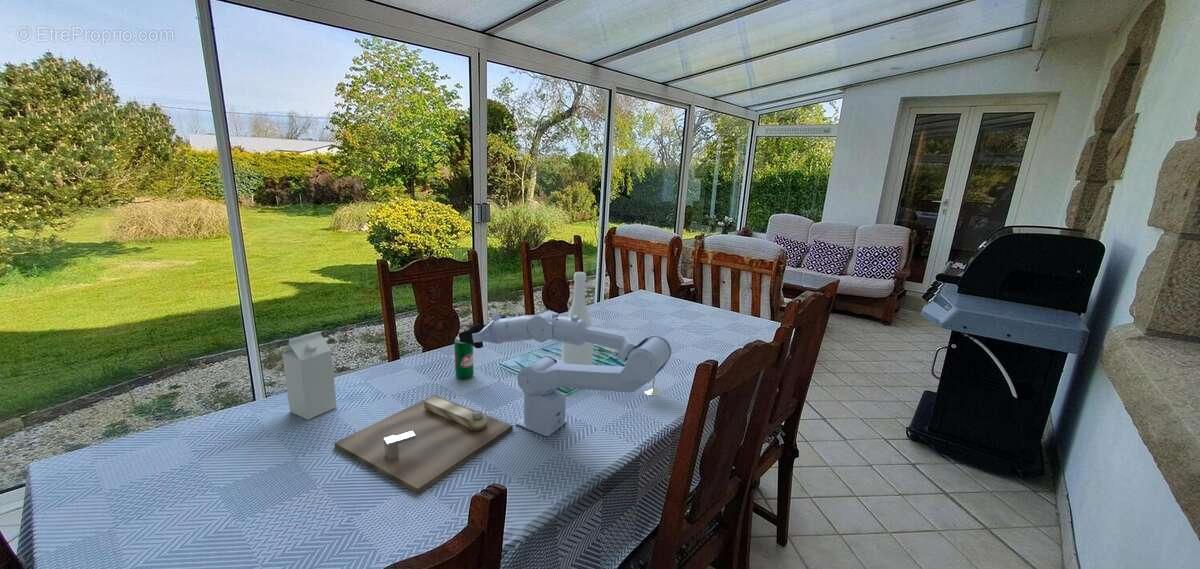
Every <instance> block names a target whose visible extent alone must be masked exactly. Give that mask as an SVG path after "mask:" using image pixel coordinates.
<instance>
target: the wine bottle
mask: <svg viewBox="0 0 1200 569" xmlns="http://www.w3.org/2000/svg"><path fill="white" fill-rule="evenodd" d="M573 281H574V284H573V300H572V303H571V306H570V309H569V311H568V315H567V317H572V316H574V315H576V316H579V319H583V320H586V321H587V323H588V324H589V326H591V327H593V323H592V321H591V320H592V319H591V318H590V314H589V310H588V307H587V303H586V281H587V274H586V272H584V271H576V272H574V273H573ZM593 354H594V344H593V343H589V342H585V343H584V344H583V345H581V346H578V345H573V344H569V343H564V342H561V360H564V362H565V364H582V365H593V361H594V358H593V357H594V355H593Z"/></svg>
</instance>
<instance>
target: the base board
mask: <svg viewBox="0 0 1200 569" xmlns="http://www.w3.org/2000/svg"><path fill="white" fill-rule="evenodd" d="M434 396H435V397H437V398H440V399H443V400H445V401H448V402H450V403H453V404H455V405H458V406H460V407H463V408H465V409H468V410H470V411H473V412H475V411H476V410H475V409H472V408H469V407H467V406H465V405H462V404H459V403H457V402H455V401H452V400H449V399H447V398H444V397H441V396H439V395H436V394H434V395H431V396H430V397H427V398H425V399H423V400H421V401H418V402H416V403H415V404H413V405H410V406H408V407H406V408H404V409H402V410H400V411H398V412H396V413H393V414H391V415H390V416H387V417H386V418H383V419H381V420H379V421H377V422H375V423H373V424H371V425H369V426H366V427H364V428H362V429H360V430H359V431H356V432H354V433H352V434H350V435H348V436H346V437H343V438H341V439H339V440H337V441H335V442H334V449H336V450H338V451H340V452H342V453H343V454H345V455H347V456H349V457H351V458H353V459H354V460H356V461H357V462H360V463H361V464H363V465H364V466H366V467H369V468H371V469H372V470H374V471H376V472H377V473H379V474H381V475H383V476H384V477H386V478H388V479H389V480H392V481H394V482H395V483H397V484H399V485H400V486H402V487H404V488H406V489H408V490H410V491H411V492H413V493H415V494H417V495H420V494H422V493H423V492H424V491H425V490H427V489H429V488H431V487H432V486H433V485H434V484H436V483H438V482H439V481H440V480H442V479H443V478H445V477H447V476H448V475H449V474H451V473H452V472H453V471H455V470H456V469H458V468H459V467H461V466H462V465H464V464H465V463H467V462H469V461H470V460H471V459H472V458H474V457H475V456H477V455H478V454H480V453H481V452H483V451H484V450H485V449H486V450H487V448H489V447H491V445H494V444H495V443H496V442H497V441H499V440H501V439H502V438H503V437H505V436H507V434H509V433H511V432H512V431H513V430H514V428H513V427H514V426H513V424H510V423H507V422H505V421H502V420H499V419H497V418H495V417H492V416H489V415H487V414H485V413H483V414H484V415H486V417H487V426H486V428H485V429H483V430H480V431H473V430H470V429H469V427H467V426H465V425H462V424H460V423H457V422H455V421H453V420H450V419H448V418H446V417H443V416H441V415H438V414H436V413H434V412H431V411H429V410H427V409H424V401H425V400H427V399H429V398H431V397H434ZM410 431H413V432H414V434H415V435H416V439H413V440H410V441H407V442H404V443H401V444H398V450H399V457H398V458H395V459H392V460H389V461H388V459H387V458H386V456H385V449H384V438H386V437H389V436H392V435H395V436H397V435H400V434H404V433H407V432H410Z"/></svg>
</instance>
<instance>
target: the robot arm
mask: <svg viewBox="0 0 1200 569" xmlns="http://www.w3.org/2000/svg"><path fill="white" fill-rule="evenodd" d="M491 316H492V320H491V321H490V322H489V323H487V324H484V325H481V323H476V324H473V325H471V326H470V328H468V329H467V330H464V331H460V332H458V335H459V339H460V342H463V343H468V344H471V345H473V348H475V349H482V348H484V343H489V344H497V345H500V344H501V345H502V344H503V343H511V342H512V343H513V342H525V341H531V340H534V341H536V342H539V343H545V342H547V341H548V340H551V341H555V342H560V343H562V342H564V343H569V344H573V345H578V346H581V345H583V344H584V343H585V342H589V343H593V345H597V346H600V347H605V348H608V349H613V350H615V351H617V352H618V354H619V357H620V360H621V361H622V363H625V362H626V363H625V366H621V365H620V366H619V365H618V366H617V365H600V364H599V365H598V364H592V365H582V364H565V362H564V360H562V359H558V358H555V357H554V356H552V355H550V354H549V355H548V354H547V355H544V356H542V357H540V358H539V359H538V360H537V361H534V362H533V363H532V364H529V365H528V366H526V367H523V368H522V369H520V370H519V372H518V373H517V383H518V387H519V388H520V389H521V390H522V392H523V417H522V418H520V419H519V420H517V421H516V422H515V425H517V426H518V427H522V428H524V429H527V430H529V431H531V432H535V433H536V434H540V435H543V436H545V437H549V436H551V435H552V434H553V433H554V432H556V431H557V430H558V429H560V428H561V427H562V426H564V425H565V424H566V423H568V422H567V421H568V420H567V419H566V397H565V395H564V394H562V393H561V392H559V391H558V390H557V389H559V388H565V389H566V388H567V389H576V390H577V389H579V390H580V389H581V390H593V391H603V392H605V391H607V392H616V393H617V392H619V393H630V394H631V393H634V392H636V391H638V390H639V389H640V388H642V387H644V386H645V385H647V384H650V383H651V381H653V378H654V377H655V378H656V376H657V375H658V374H659V372H661V370H663V369H664V368H665V366H666V365H667V364H666V363H668V362H669V360H670V359H671V356H672V346H671V345H670V342H669V341H668V340H667V339H666V337H663V336H661V335H656V334H655V335H651V333H648V332H644V331H643V332H641V331H631V330H630V331H628V330H621V329H615V328H613V329H612V328H607V327H605V328H604V327H599V326H597V327H596V326H592V327H591V326H589V324H588V323H587V321H586V320H583V319H579V316H576V315H574V316H572V317H568V316H565V315H561V314H560V313H558V312H555V311H553V310H551V309H547V310H545V311H544V312H542V313H540V314H539V313H538V314H531V315H530V314H526V315H517V316H510V317H507V316H505V315H504V316H501V315H500V314H499V313H496V314H493V315H491Z"/></svg>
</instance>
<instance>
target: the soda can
mask: <svg viewBox="0 0 1200 569" xmlns="http://www.w3.org/2000/svg"><path fill="white" fill-rule="evenodd" d="M453 341H454V372H455V374H454V375H455V377H456V378H457V379H458V380H459V379H460V380H468V379H470V378H472V377H473V376H474V371H475V370H474V368H475V367H474V346H473V345H471V344H468V343H463V342H460V339H459V334H458V335H457V336H456V337H455V339H454V340H453Z"/></svg>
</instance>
